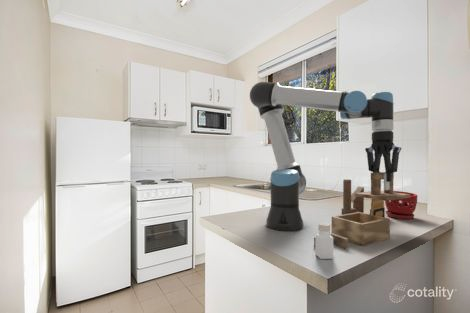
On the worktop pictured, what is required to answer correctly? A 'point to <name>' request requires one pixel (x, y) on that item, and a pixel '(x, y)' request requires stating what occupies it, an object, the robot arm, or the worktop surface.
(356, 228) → the open wooden box
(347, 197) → the wooden block
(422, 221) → the worktop surface
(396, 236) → the worktop surface
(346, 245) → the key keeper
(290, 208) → the robot arm
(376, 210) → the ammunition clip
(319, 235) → the pepper shaker
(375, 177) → the wooden post stand
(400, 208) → the plant pot
